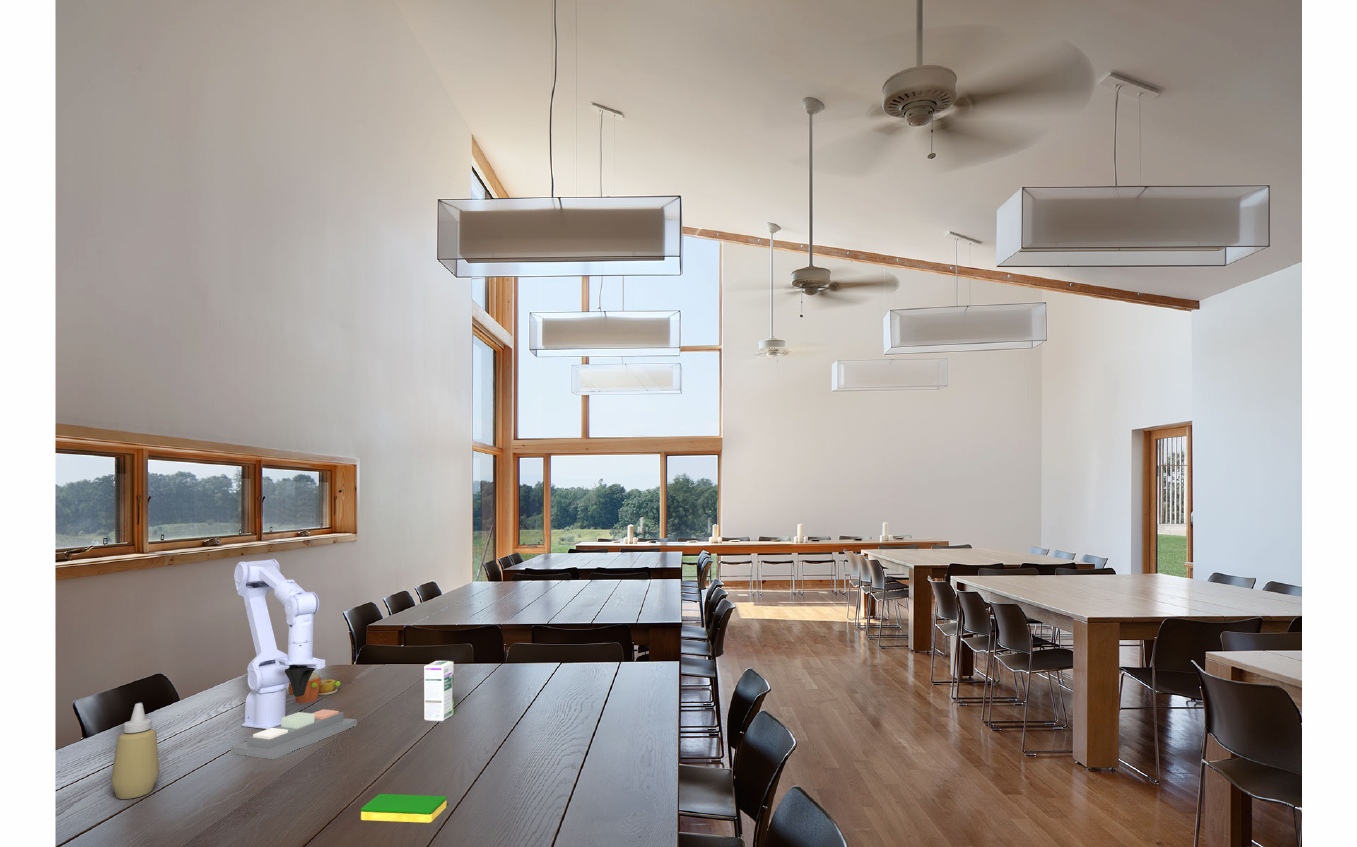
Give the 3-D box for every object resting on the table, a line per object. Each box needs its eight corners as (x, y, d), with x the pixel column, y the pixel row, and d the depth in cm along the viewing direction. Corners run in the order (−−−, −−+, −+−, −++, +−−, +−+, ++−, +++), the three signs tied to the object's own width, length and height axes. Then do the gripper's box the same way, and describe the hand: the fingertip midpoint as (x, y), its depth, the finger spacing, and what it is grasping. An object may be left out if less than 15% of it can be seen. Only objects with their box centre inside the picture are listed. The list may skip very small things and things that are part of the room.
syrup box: (443, 721, 198) (444, 665, 200) (423, 720, 200) (423, 664, 201) (454, 715, 204) (454, 660, 205) (434, 714, 205) (434, 659, 206)
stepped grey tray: (231, 753, 176) (231, 737, 176) (318, 720, 201) (318, 707, 201) (273, 759, 172) (273, 743, 172) (357, 725, 196) (357, 711, 196)
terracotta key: (307, 724, 192) (307, 714, 192) (322, 718, 197) (323, 709, 197) (322, 726, 190) (323, 716, 191) (338, 720, 195) (338, 710, 196)
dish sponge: (430, 824, 138) (430, 811, 138) (359, 821, 139) (360, 808, 139) (447, 808, 145) (447, 795, 145) (379, 805, 146) (379, 792, 146)
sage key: (281, 728, 185) (281, 717, 185) (298, 722, 190) (298, 711, 190) (297, 730, 183) (297, 719, 183) (314, 723, 188) (314, 713, 188)
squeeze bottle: (126, 787, 156) (130, 698, 158) (167, 785, 157) (171, 697, 159) (99, 803, 148) (104, 709, 150) (143, 801, 149) (147, 708, 151)
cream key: (252, 745, 177) (253, 734, 177) (271, 738, 182) (271, 727, 182) (269, 747, 175) (269, 736, 176) (287, 740, 180) (288, 729, 181)
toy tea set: (345, 690, 232) (345, 658, 233) (319, 704, 217) (320, 670, 218) (262, 691, 233) (263, 659, 234) (231, 705, 218) (232, 671, 219)
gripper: (266, 642, 191) (264, 697, 189) (310, 645, 186) (308, 702, 185) (288, 637, 197) (287, 690, 196) (332, 640, 192) (330, 694, 191)
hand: (299, 695), depth 191 cm, fingers closed
